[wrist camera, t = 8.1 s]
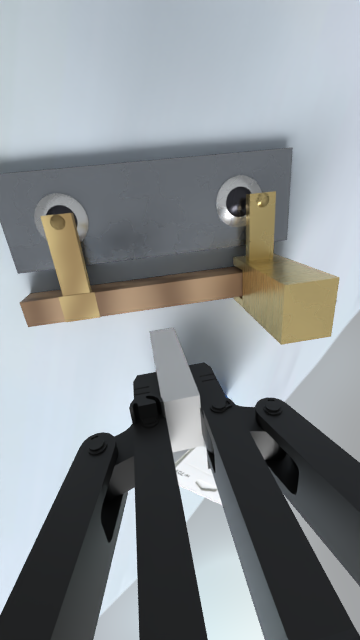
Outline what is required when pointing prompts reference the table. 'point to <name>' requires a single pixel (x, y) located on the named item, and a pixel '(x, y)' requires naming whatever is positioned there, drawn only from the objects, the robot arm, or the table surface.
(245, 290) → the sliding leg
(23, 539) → the table surface
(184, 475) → the ink box
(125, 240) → the gray rectangular panel
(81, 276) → the beam
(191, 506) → the table surface
